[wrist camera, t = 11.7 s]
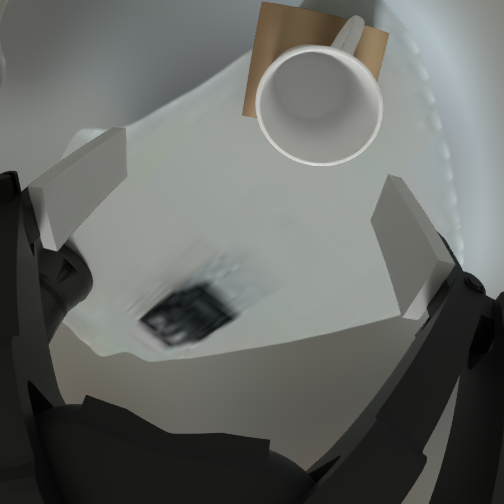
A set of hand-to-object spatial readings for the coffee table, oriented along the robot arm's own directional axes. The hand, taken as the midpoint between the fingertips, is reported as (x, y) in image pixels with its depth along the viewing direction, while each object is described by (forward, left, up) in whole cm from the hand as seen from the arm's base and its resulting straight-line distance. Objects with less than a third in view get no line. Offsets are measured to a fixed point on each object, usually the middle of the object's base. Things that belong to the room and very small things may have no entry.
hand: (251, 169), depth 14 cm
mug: (+4, +4, -18) cm, 19 cm away
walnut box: (+3, +4, -24) cm, 24 cm away
